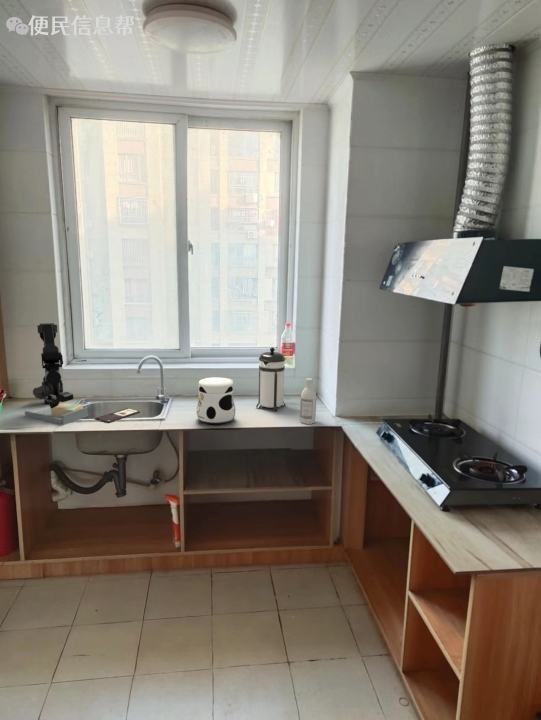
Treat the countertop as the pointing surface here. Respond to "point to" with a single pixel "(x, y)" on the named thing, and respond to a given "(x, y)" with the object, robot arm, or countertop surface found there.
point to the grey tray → (65, 419)
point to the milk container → (215, 400)
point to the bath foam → (308, 403)
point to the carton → (64, 409)
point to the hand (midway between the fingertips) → (53, 412)
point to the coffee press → (271, 379)
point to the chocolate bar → (117, 415)
